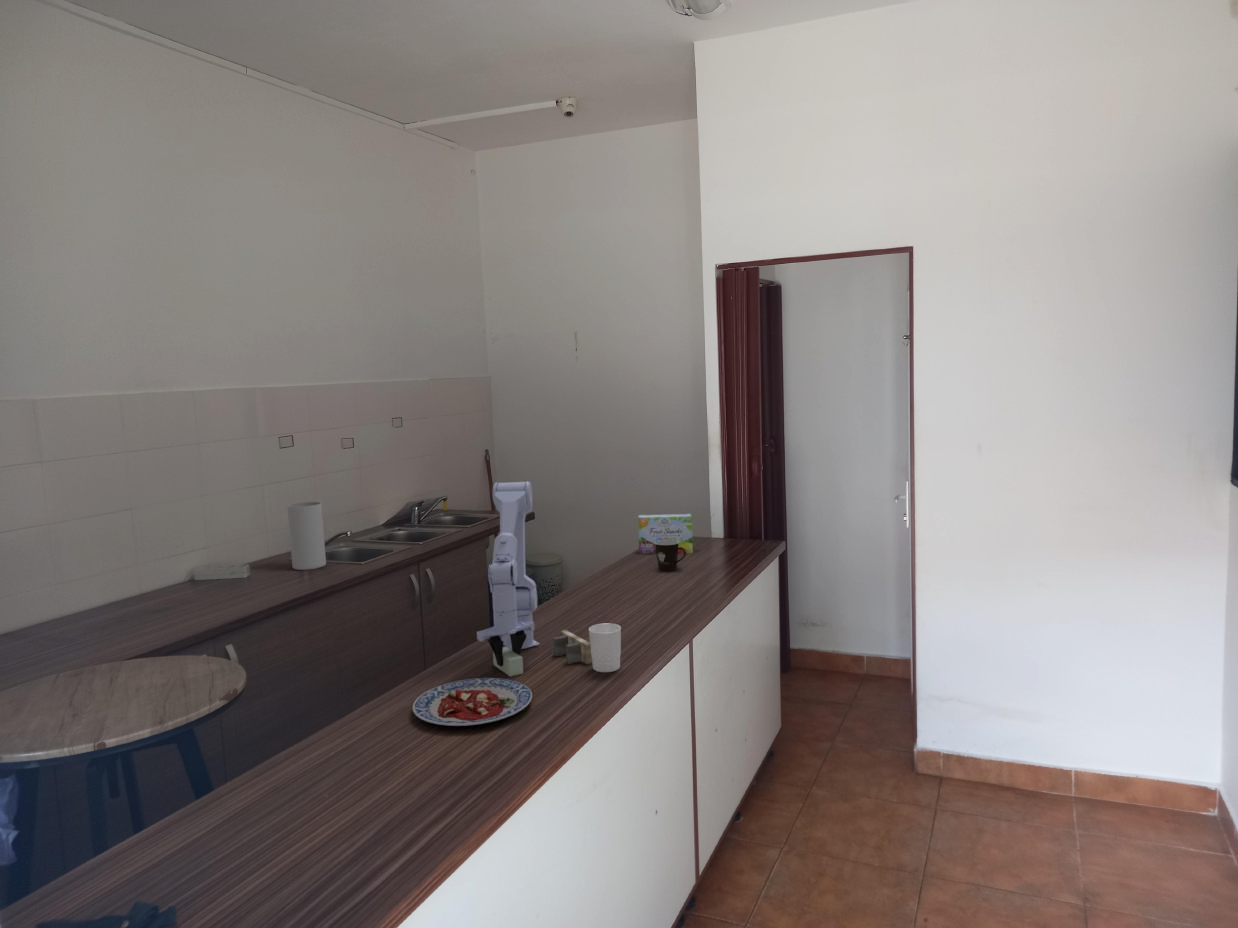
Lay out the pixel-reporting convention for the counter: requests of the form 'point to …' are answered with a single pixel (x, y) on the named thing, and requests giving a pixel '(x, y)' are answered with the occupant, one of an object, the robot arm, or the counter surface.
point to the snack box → (665, 531)
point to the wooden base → (572, 648)
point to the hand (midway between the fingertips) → (507, 663)
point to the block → (510, 662)
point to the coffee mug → (668, 555)
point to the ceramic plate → (472, 701)
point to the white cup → (605, 647)
